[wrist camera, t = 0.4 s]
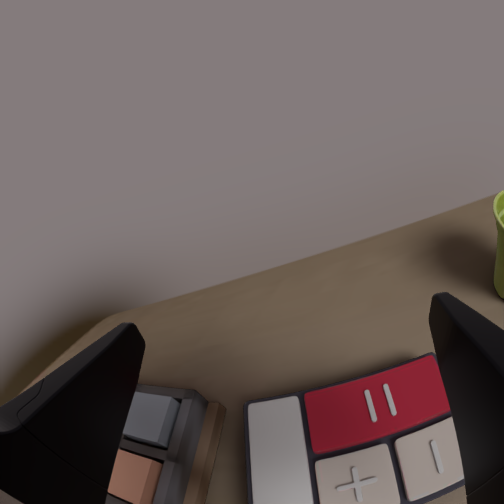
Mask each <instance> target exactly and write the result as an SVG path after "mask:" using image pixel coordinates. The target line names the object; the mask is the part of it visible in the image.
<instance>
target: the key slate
mask: <svg viewBox="0 0 504 504" xmlns="http://www.w3.org/2000/svg"><path fill="white" fill-rule="evenodd" d="M180 406H181V404H180V403H179V402H177V401H176V400H175V399H173V398H172V397H169V396H161V395H153V394H147V393H140V392H135V394H134V397H133V400H132V403H131V407H130V410H129V413H128V417H127V420H126V424H125V427H124V431H123V434H124V435H126V436H127V437H129V438H131V439H133V440H135V441H138V442H141V443H145V444H149V445H152V446H156V447H160V448H165V449H168V447H169V444H170V440H171V437H172V433H173V430H174V426H175V423H176V419H177V416H178V413H179V409H180Z"/></svg>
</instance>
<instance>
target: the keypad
mask: <svg viewBox="0 0 504 504" xmlns="http://www.w3.org/2000/svg"><path fill="white" fill-rule="evenodd" d="M135 392H140V393H147V394H153V395H161V396H169V397H172V398H173V399H175V400H176V401H177V402H179V403H180V404H181V406H180V409H179V413H178V416H177V419H176V423H175V426H174V430H173V433H172V437H171V440H170V444H169V447H168V449H165V448H160V447H156V446H152V445H149V444H145V443H141V442H138V441H135V440H133V439H131V438H129V437H127V436H126V435H124V434H122V438H121V441H120V445H119V449H120V450H123V451H126V452H129V453H132V454H135V455H138V456H141V457H144V458H148V459H151V460H154V461H156V462H158V463H161V464H163V468H162V472H161V475H160V479H159V482H158V486H157V490H156V493H155V497H154V501H153V504H205V500H206V496H207V491H208V487H209V483H210V478H211V474H212V470H213V465H214V461H215V456H216V452H217V448H218V443H219V439H220V434H221V430H222V426H223V421H224V417H225V412H226V408H224V407H223V406H222V405H221V404H220V403H215V402H208V401H207V400H206V399H205V398H204V397H202V396H201V395H200V394H199V393H198V392H197V391H196V390H190V389H179V388H169V387H159V386H151V385H143V384H137V387H136V390H135ZM105 503H106V504H133V503H131V502H129V501H126V500H124V499H122V498H120V497H117V496H115V495H113V494H111V493H109V492H108V493H107V497H106V502H105Z"/></svg>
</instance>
